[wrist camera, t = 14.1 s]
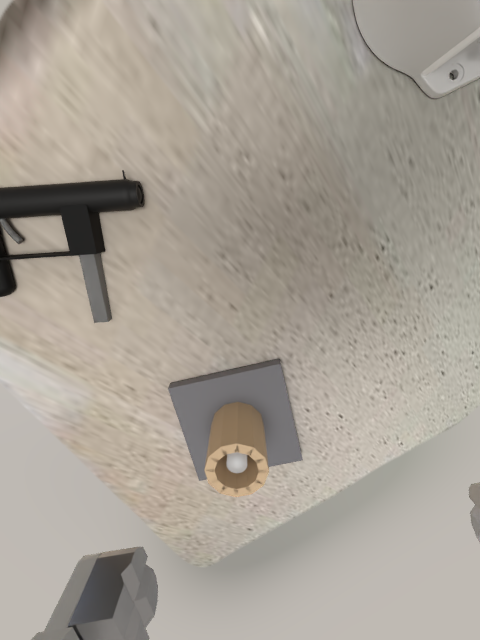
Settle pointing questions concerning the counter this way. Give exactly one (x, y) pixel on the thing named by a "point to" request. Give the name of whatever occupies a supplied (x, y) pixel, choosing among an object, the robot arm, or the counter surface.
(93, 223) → the black two-tone tubular device
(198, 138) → the counter surface
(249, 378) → the roll holder
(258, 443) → the paper roll
